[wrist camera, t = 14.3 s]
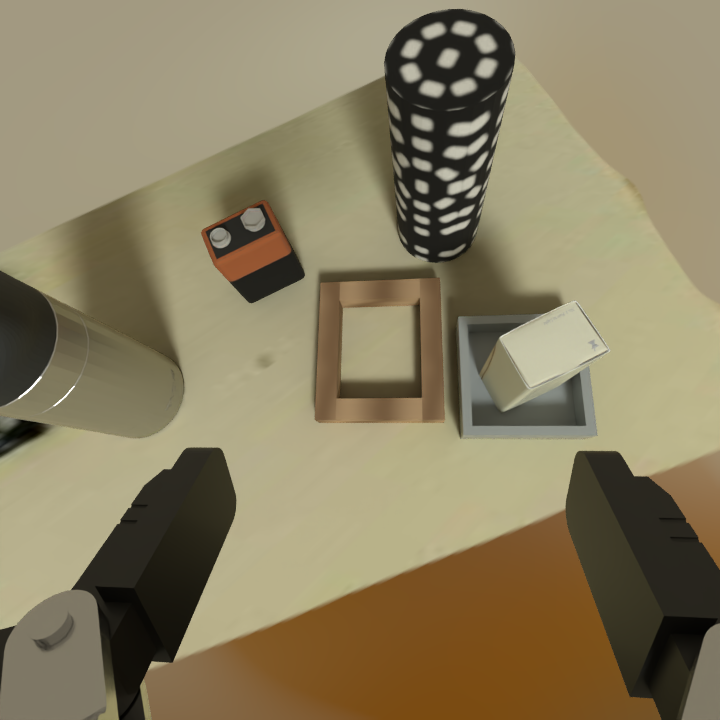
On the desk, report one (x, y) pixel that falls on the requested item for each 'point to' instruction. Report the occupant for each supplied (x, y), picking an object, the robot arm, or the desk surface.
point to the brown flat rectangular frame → (330, 348)
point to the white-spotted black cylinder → (445, 125)
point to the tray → (529, 420)
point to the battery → (253, 252)
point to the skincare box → (541, 355)
